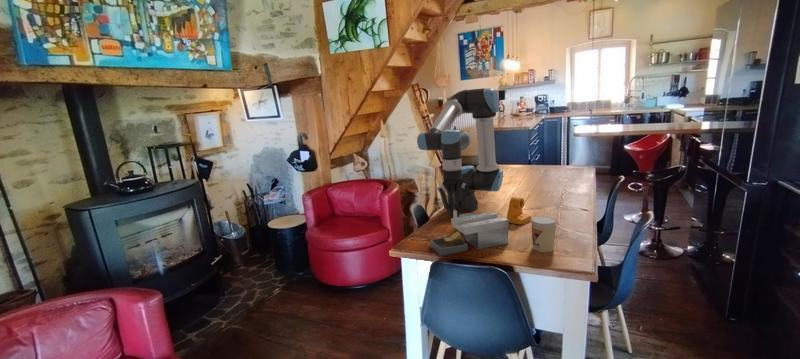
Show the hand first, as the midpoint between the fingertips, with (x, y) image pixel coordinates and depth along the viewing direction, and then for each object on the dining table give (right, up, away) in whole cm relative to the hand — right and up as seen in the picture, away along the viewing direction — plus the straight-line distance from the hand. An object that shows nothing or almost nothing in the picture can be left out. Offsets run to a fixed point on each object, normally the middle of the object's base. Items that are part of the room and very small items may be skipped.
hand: (454, 225), depth 155 cm
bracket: (+36, -2, +27) cm, 45 cm away
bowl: (+10, -5, +21) cm, 24 cm away
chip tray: (-2, -10, +1) cm, 10 cm away
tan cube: (+3, -7, +1) cm, 8 cm away
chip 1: (0, -8, +2) cm, 8 cm away
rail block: (+12, -8, +5) cm, 15 cm away
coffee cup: (+35, -9, -5) cm, 36 cm away
